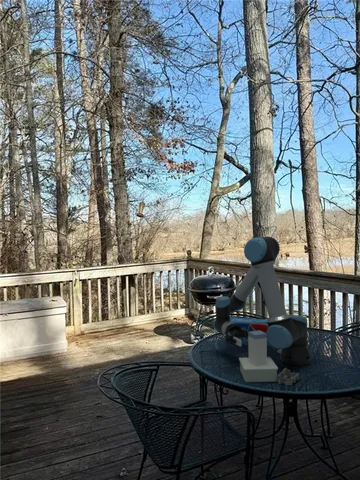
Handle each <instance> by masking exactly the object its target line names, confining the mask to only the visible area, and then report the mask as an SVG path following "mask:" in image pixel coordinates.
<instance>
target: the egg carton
mask: <svg viewBox="0 0 360 480" xmlns="http://www.w3.org/2000/svg"><path fill="white" fill-rule="evenodd" d="M299 376H300V373H298V372H296V371H293V372H292V371H291V370H290V369H288V368H287V367H285V368H283V369H282V371H281V372H280V373H279V374H278V373H277V377H276V378H277V383H278V384H284V385H285V386H287V387H288V386H293V384H295V383H296V381H299Z"/></svg>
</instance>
